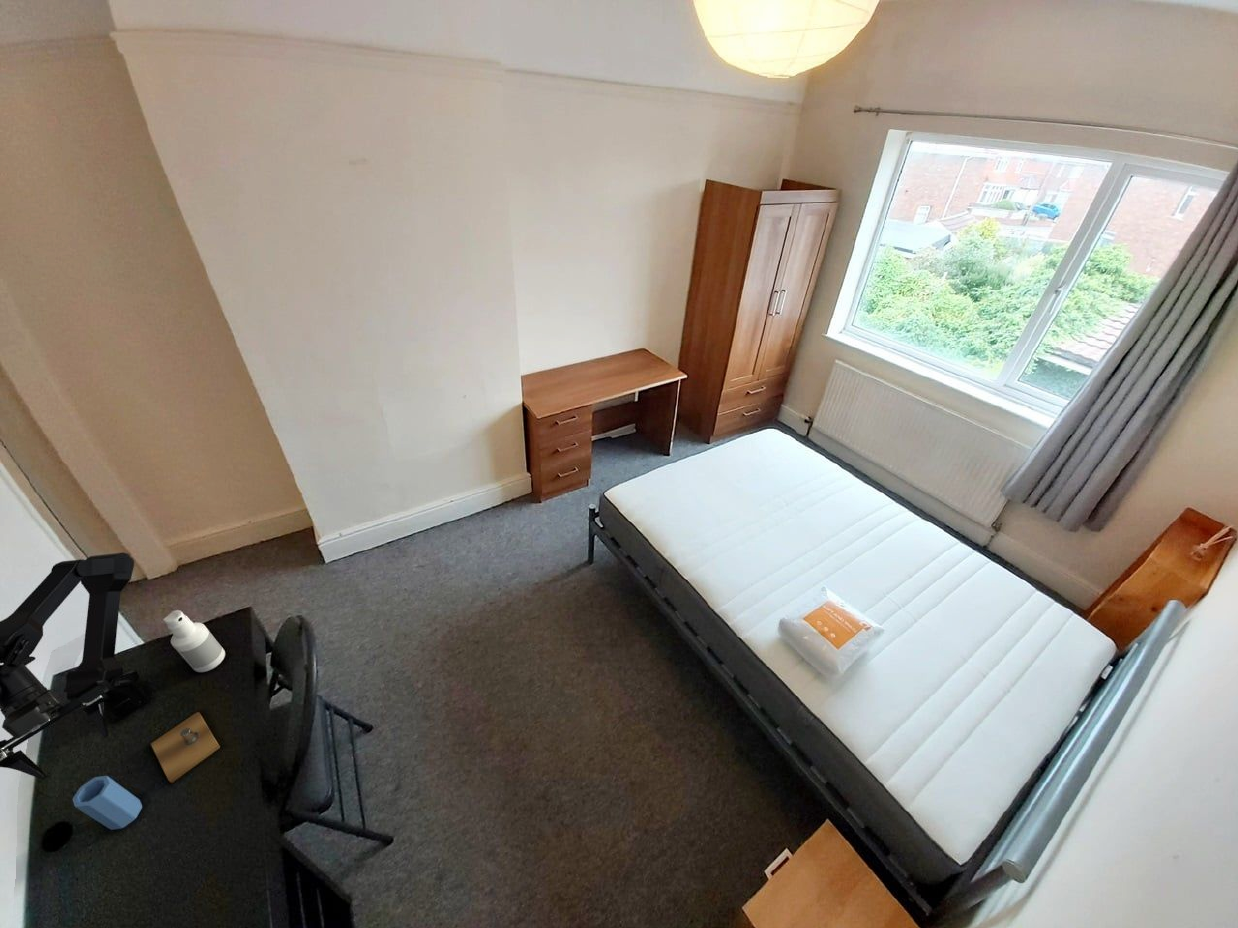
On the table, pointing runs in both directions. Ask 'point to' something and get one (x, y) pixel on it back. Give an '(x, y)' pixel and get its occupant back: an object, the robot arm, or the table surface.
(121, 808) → the sleeve
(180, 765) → the base
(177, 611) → the spray bottle
